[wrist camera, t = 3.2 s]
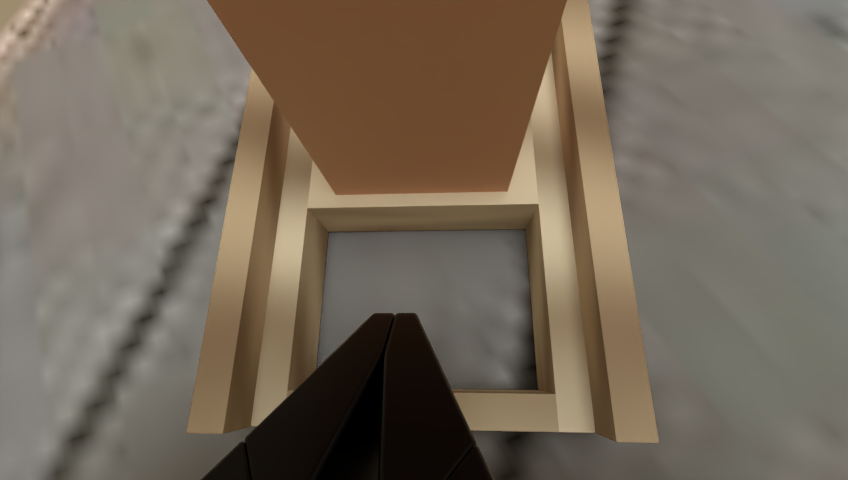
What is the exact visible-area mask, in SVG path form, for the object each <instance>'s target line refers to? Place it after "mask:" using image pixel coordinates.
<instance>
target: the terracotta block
mask: <svg viewBox="0 0 848 480" xmlns="http://www.w3.org/2000/svg"><path fill="white" fill-rule="evenodd" d="M207 1H208V2H209V4H210V5H211V7H212V8H213V10H214V11H215V13H216V14H217V16H218V17H219V19H220V20H221V22H222V24H223V25H224V27H225V28H226V30H227V31H228V33H229V34H230V36H231V37H232V39H233V40H234V42H235V43H236V45H237V46H238V48H239V49H240V51H241V52H242V54H243V55H244V57H245V58H246V60H247V61H248V63H249V64H250V66H251V67H252V69H253V70H254V72H255V73H256V75H257V76H258V78H259V79H260V81H261V82H262V84H263V85H264V87H265V88H266V90H267V92H268V93H269V95H270V96H271V98H272V99H273V101H274V102H275V104H276V105H277V107H278V108H279V110H280V111H281V113H282V114H283V116H284V117H285V119H286V120H287V122H288V123H289V125H290V126H291V128H292V129H293V131H294V132H295V134H296V135H297V137H298V138H299V140H300V141H301V143H302V144H303V146H304V147H305V149H306V150H307V152H308V153H309V155H310V156H311V158H312V160H313V161H314V163H315V164H316V166H317V167H318V169H319V170H320V172H321V173H322V175H323V176H324V178H325V179H326V181H327V182H328V184H329V185H330V187H331V188H332V190H333V191H334V193H335V194H336V195H365V194H413V193H461V192H508V189H509V185H510V182H511V179H512V176H513V173H514V169H515V166H516V163H517V160H518V156H519V153H520V150H521V147H522V144H523V140H524V137H525V134H526V131H527V128H528V124H529V121H530V118H531V115H532V111H533V108H534V105H535V102H536V99H537V95H538V92H539V89H540V86H541V83H542V79H543V76H544V73H545V70H546V67H547V63H548V60H549V57H550V54H551V50H552V47H553V44H554V41H555V38H556V34H557V31H558V28H559V25H560V22H561V18H562V15H563V12H564V9H565V6H566V2H567V0H207Z"/></svg>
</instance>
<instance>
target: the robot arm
mask: <svg viewBox="0 0 848 480" xmlns="http://www.w3.org/2000/svg"><path fill="white" fill-rule="evenodd" d="M201 480H494V478H493V476H492V474H491V472H490V470H489V468H488V466H487V464H486V462H485V459H484V457H483V455H482V453H481V451H480V449H479V447H477V444H476V441H475V439H474V436H473V434H472V432H471V430H470V428H469V426H468V424H467V421H466V419H465V417H464V415H463V413H462V411H461V409H460V406H459V404H458V402H457V400H456V398H455V396H454V393H453V391H452V389H451V387H450V385H449V383H448V381H447V378H446V376H445V374H444V372H443V370H442V368H441V366H440V363H439V361H438V359H437V357H436V355H435V353H434V350H433V348H432V346H431V344H430V342H429V340H428V338H427V335H426V333H425V331H424V329H423V327H422V325H421V322H420V320H419V318H418V316H417V315H416V314H415V313H398V314H396V315H394V314H393V313H375V314H373V315H372V316H371V317H370V318H368V319H367V320H366V321H365V322H364V323H363V324H362V325H361V326H360V327H359V328H358V329H357V330H356V331H355V332H354V333H353V334H352V335H351V336H350V337H349V338H348V339H347V340H346V341H345V342H344V343H343V344H342V345H341V346H340V347H338V348H337V349H336V350H335V351H334V352H333V353H332V354H331V355H330V356H329V357H328V358H327V359H326V360H325V361H324V362H323V363H322V364H321V365H320V366H319V367H318V368H317V369H316V370H315V371H314V372H313V373H312V374H311V375H310V376H309V377H307V378H306V379H305V380H304V381H303V382H302V383H301V384H300V385H299V386H298V387H297V388H296V389H295V390H294V391H293V392H292V393H291V394H290V395H289V396H288V397H287V398H286V399H285V400H284V401H283V402H282V403H281V404H280V405H279V406H277V407H276V408H275V409H274V410H273V411H272V412H271V413H270V414H269V415H268V416H267V417H266V418H265V419H264V420H263V421H262V422H261V423H260V424H259V425H258V426H257V427H256V428H255V429H254V430H253V431H252V432H251V433H250V434H249V435H248V436H246V438H245V442H240V443H239V444H238V445H237V446H236V447H235V448H234V449H233V450H232V451H231V452H230V453H229V454H228V455H227V456H226V457H224V458H223V459H222V460H221V461H220V462H219V463H218V464H217V465H216V466H215V467H214V468H213V469H212V470H211V471H210V472H208V473H207V474H206V475H205V476H204V477H203V478H202V479H201Z"/></svg>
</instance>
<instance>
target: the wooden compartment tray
mask: <svg viewBox="0 0 848 480" xmlns="http://www.w3.org/2000/svg"><path fill="white" fill-rule="evenodd" d="M490 229H526V241H527V254H528V267H529V281H530V294H531V307H532V320H533V333H534V346H535V359H536V372H537V385H538V390H499V389H452V391H453V393H454V396H455V398H456V400H457V402H458V404H459V406H460V409H461V411H462V413H463V415H464V417H465V419H466V421H467V424H468V426H469V428H470V430H480V431H532V432H584V433H597V434H600V435H602V436H604V437H606V438H609V439H611V440H613V441H616V442H643V443H659V440H658V433H657V427H656V421H655V415H654V408H653V402H652V396H651V390H650V384H649V377H648V371H647V365H646V359H645V352H644V346H643V340H642V334H641V328H640V321H639V315H638V309H637V303H636V296H635V290H634V284H633V278H632V272H631V265H630V259H629V253H628V247H627V240H626V234H625V228H624V222H623V215H622V209H621V203H620V197H619V191H618V184H617V178H616V172H615V166H614V159H613V153H612V147H611V141H610V135H609V128H608V122H607V116H606V110H605V103H604V97H603V91H602V85H601V79H600V72H599V66H598V60H597V54H596V47H595V41H594V35H593V29H592V23H591V16H590V10H589V4H588V0H567V2H566V6H565V9H564V12H563V15H562V18H561V22H560V25H559V28H558V31H557V34H556V38H555V41H554V44H553V47H552V50H551V54H550V57H549V60H548V63H547V67H546V70H545V73H544V76H543V79H542V83H541V86H540V89H539V92H538V95H537V99H536V102H535V105H534V108H533V111H532V115H531V118H530V121H529V124H528V128H527V131H526V134H525V137H524V140H523V144H522V147H521V150H520V153H519V156H518V160H517V163H516V166H515V169H514V173H513V176H512V179H511V182H510V185H509V189H508V192H461V193H413V194H365V195H336V194H335V193H334V191H333V190H332V188H331V187H330V185H329V184H328V182H327V181H326V179H325V178H324V176H323V175H322V173H321V172H320V170H319V169H318V167H317V166H316V164H315V163H314V161H313V160H312V158H311V156H310V155H309V153H308V152H307V150H306V149H305V147H304V146H303V144H302V143H301V141H300V140H299V138H298V137H297V135H296V134H295V132H294V131H293V129H292V128H291V126H290V125H289V123H288V122H287V120H286V119H285V117H284V116H283V114H282V113H281V111H280V110H279V108H278V107H277V105H276V104H275V102H274V101H273V99H272V98H271V96H270V95H269V93H268V92H267V90H266V88H265V87H264V85H263V84H262V82H261V81H260V79H259V78H258V76H257V75H256V73H255V72H254V70H253V69H251V75H250V81H249V86H248V92H247V97H246V103H245V108H244V114H243V120H242V125H241V131H240V136H239V142H238V147H237V153H236V159H235V164H234V170H233V175H232V181H231V186H230V192H229V198H228V203H227V209H226V214H225V220H224V225H223V231H222V237H221V242H220V248H219V253H218V259H217V264H216V270H215V275H214V281H213V287H212V292H211V298H210V303H209V309H208V314H207V320H206V326H205V331H204V337H203V342H202V348H201V353H200V359H199V365H198V370H197V376H196V381H195V387H194V392H193V398H192V404H191V409H190V415H189V420H188V426H187V431H186V433H208V434H224V433H227V432H231V431H235V430H238V429H242V428H246V427H249V426H258V425H259V424H260V423H261V422H262V421H263V420H264V419H265V418H266V417H267V416H268V415H269V414H270V413H271V412H272V411H273V410H274V409H275V408H276V407H277V406H279V405H280V404H281V403H282V402H283V401H284V400H285V399H286V398H287V397H288V396H289V395H290V394H291V393H292V392H293V391H294V390H295V389H296V388H297V387H298V386H299V385H300V384H301V383H302V382H303V381H304V380H305V379H306V378H307V377H309V376H310V375H311V374H312V373H313V372H314V371H315V370H316V365H317V354H318V343H319V331H320V320H321V309H322V298H323V287H324V276H325V265H326V254H327V243H328V232H352V231H421V230H490Z"/></svg>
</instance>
